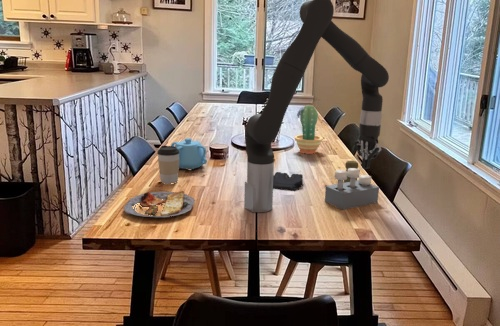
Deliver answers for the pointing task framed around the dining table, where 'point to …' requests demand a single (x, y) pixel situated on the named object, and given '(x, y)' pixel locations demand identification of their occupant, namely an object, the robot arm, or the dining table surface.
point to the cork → (350, 165)
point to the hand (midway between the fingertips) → (365, 168)
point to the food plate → (173, 203)
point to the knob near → (340, 178)
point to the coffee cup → (168, 164)
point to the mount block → (351, 195)
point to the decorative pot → (190, 154)
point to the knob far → (364, 180)
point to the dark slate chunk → (287, 181)
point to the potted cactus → (308, 130)
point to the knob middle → (353, 176)
